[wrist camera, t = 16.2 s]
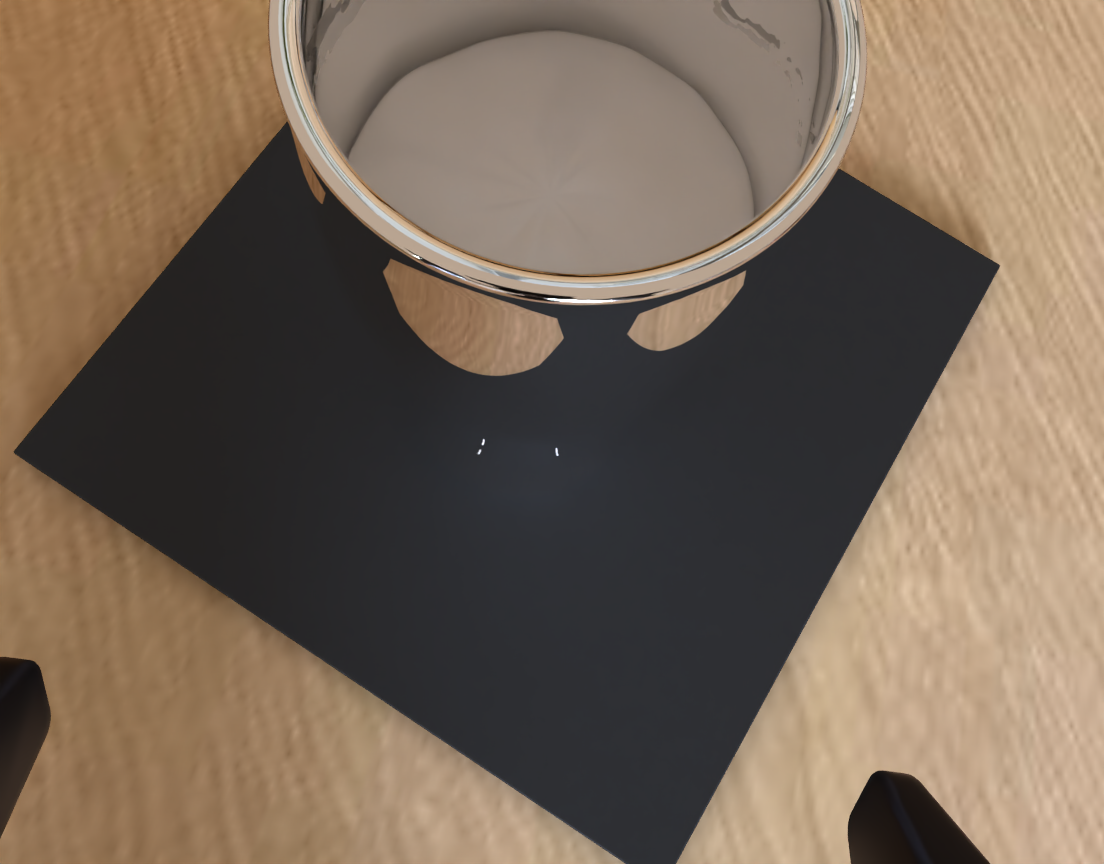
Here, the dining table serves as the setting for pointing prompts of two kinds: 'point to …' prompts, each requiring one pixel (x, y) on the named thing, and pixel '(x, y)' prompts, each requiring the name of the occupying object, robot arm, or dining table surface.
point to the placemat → (520, 525)
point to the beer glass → (558, 198)
